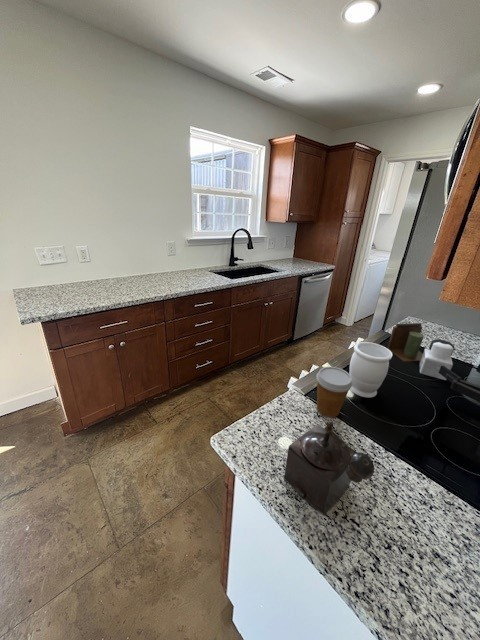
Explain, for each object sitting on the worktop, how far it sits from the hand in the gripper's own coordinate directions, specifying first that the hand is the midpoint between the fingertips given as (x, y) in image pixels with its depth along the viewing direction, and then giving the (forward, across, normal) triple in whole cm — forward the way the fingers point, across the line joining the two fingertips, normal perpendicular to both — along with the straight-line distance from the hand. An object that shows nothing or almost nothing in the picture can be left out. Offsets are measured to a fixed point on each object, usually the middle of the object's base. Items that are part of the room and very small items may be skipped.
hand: (459, 368), depth 84 cm
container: (+8, 0, -8) cm, 12 cm away
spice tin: (+20, 0, -7) cm, 21 cm away
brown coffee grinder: (-28, -56, -9) cm, 63 cm away
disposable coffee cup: (-6, -45, -8) cm, 47 cm away
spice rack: (+20, 0, -8) cm, 22 cm away
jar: (+2, -30, -8) cm, 31 cm away
